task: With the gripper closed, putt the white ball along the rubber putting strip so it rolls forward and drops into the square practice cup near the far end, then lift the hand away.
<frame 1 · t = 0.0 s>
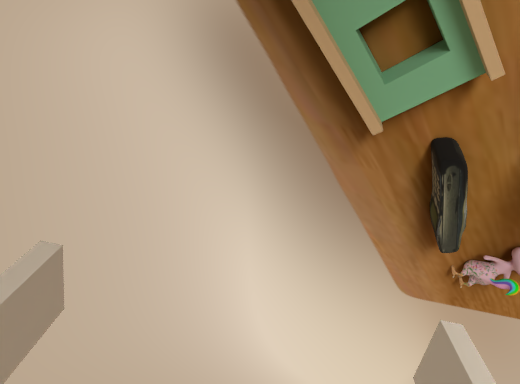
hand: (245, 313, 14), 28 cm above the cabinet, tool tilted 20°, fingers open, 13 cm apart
mobile phone: (442, 188, 44), on the cabinet
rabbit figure: (513, 251, 49), on the cabinet
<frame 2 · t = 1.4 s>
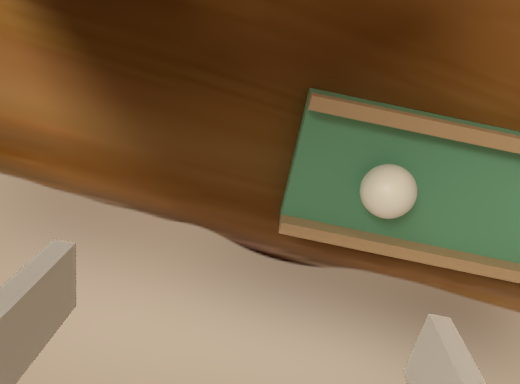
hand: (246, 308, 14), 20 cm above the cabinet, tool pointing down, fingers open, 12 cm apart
ball: (387, 191, 29), point 4 cm above the cabinet, touching putting strip
putting strip: (492, 195, 33), on the cabinet
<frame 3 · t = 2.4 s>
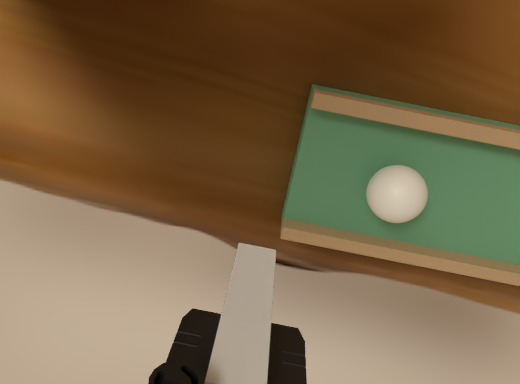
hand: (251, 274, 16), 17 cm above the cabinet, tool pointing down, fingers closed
ball: (396, 193, 27), point 4 cm above the cabinet, touching putting strip
putting strip: (505, 196, 31), on the cabinet
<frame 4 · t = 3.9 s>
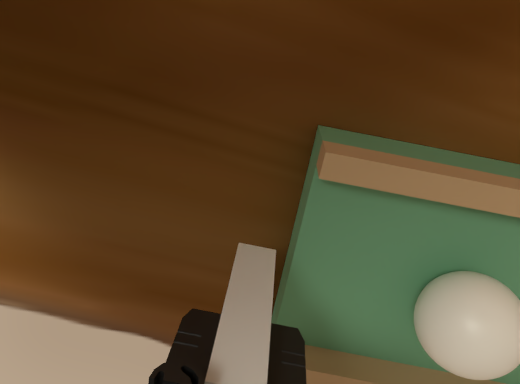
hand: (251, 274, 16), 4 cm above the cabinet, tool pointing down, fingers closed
ball: (468, 323, 15), point 4 cm above the cabinet, touching putting strip
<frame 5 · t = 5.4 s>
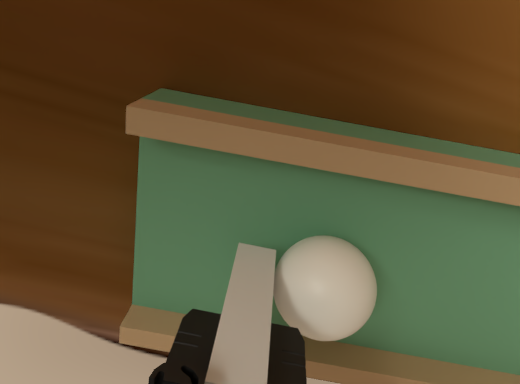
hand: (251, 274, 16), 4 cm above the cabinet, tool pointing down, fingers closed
ball: (323, 286, 15), point 4 cm above the cabinet, tilted 33°, touching putting strip
putting strip: (490, 261, 19), on the cabinet
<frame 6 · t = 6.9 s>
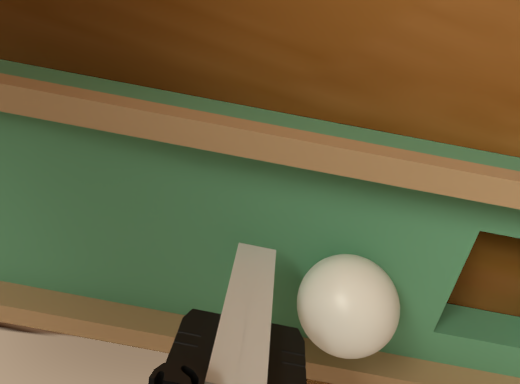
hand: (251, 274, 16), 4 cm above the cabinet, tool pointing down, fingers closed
ball: (346, 304, 16), point 4 cm above the cabinet, tilted 19°, touching putting strip
putting strip: (273, 223, 19), on the cabinet
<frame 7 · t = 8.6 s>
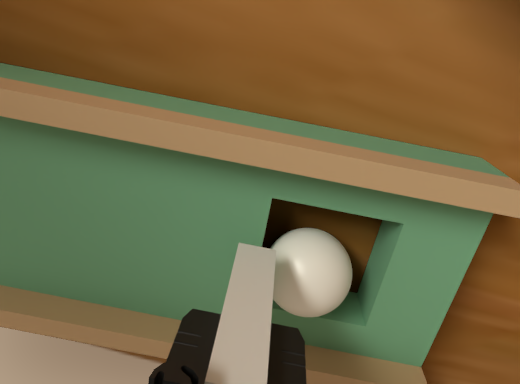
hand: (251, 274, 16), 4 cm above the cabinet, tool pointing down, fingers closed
ball: (307, 271, 18), point 2 cm above the cabinet, tilted 128°
putting strip: (100, 195, 19), on the cabinet
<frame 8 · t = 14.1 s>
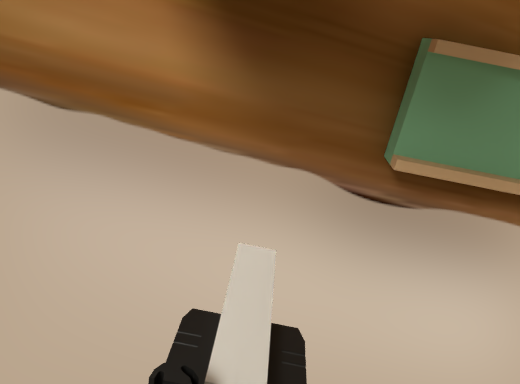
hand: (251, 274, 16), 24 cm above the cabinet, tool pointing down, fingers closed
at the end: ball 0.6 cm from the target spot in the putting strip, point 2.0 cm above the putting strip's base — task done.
